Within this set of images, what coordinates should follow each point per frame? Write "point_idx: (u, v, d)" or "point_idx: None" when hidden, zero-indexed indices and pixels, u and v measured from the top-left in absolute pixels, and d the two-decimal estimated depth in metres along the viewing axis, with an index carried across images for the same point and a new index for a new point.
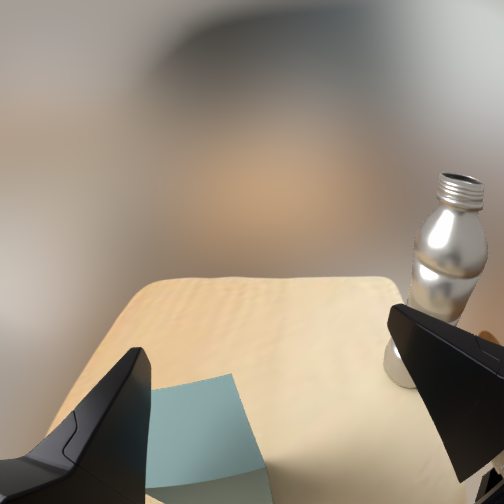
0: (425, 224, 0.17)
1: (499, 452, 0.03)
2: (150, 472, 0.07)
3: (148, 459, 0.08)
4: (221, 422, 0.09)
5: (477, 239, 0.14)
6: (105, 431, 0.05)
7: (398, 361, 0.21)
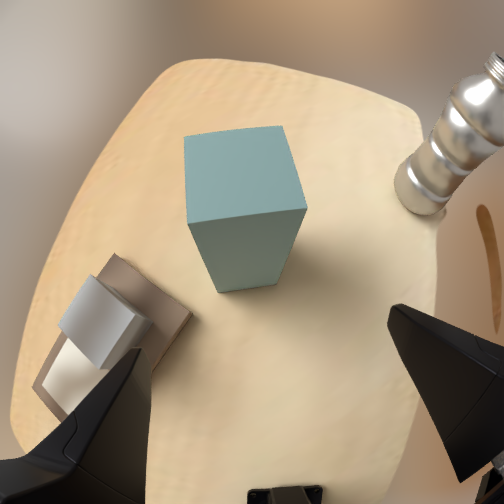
0: (467, 79, 0.13)
1: (499, 452, 0.03)
2: (203, 205, 0.11)
3: (201, 193, 0.12)
4: (271, 163, 0.12)
5: None
6: (105, 431, 0.05)
7: (409, 180, 0.23)
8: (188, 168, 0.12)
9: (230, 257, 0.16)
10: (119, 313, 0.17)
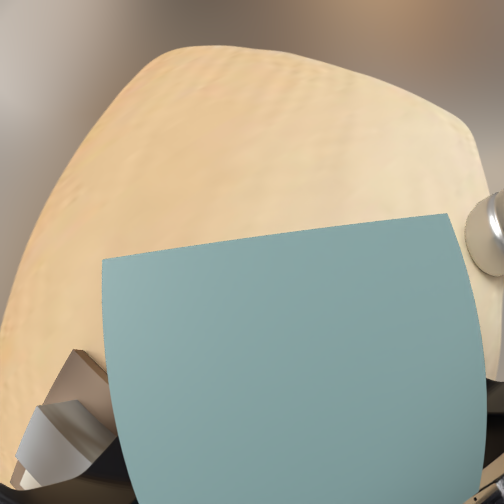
0: None
1: None
2: None
3: None
4: (438, 397, 0.03)
5: None
6: None
7: (492, 236, 0.14)
8: (130, 432, 0.02)
9: None
10: None
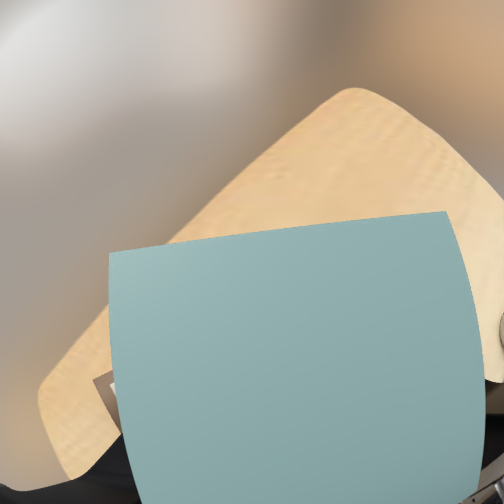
0: None
1: None
2: None
3: None
4: (435, 390, 0.03)
5: None
6: None
7: None
8: (132, 420, 0.03)
9: None
10: None
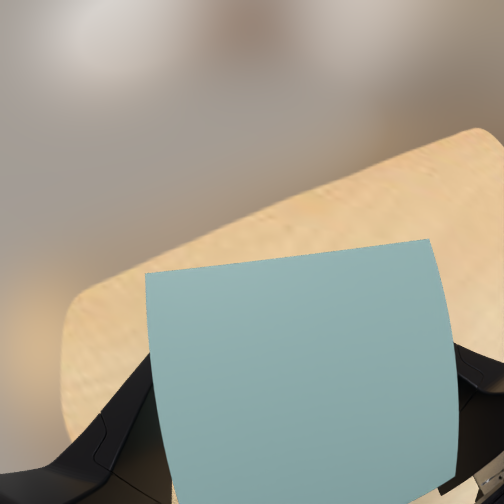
0: None
1: (480, 469, 0.03)
2: None
3: (219, 497, 0.03)
4: (413, 387, 0.03)
5: None
6: (136, 433, 0.05)
7: None
8: (169, 414, 0.03)
9: None
10: None
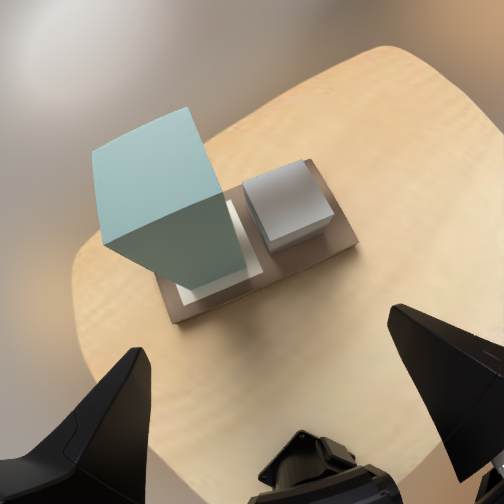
0: None
1: (499, 452, 0.03)
2: (114, 221, 0.10)
3: (111, 209, 0.10)
4: (178, 152, 0.10)
5: None
6: (105, 431, 0.05)
7: None
8: (97, 185, 0.10)
9: (175, 259, 0.14)
10: (319, 204, 0.19)
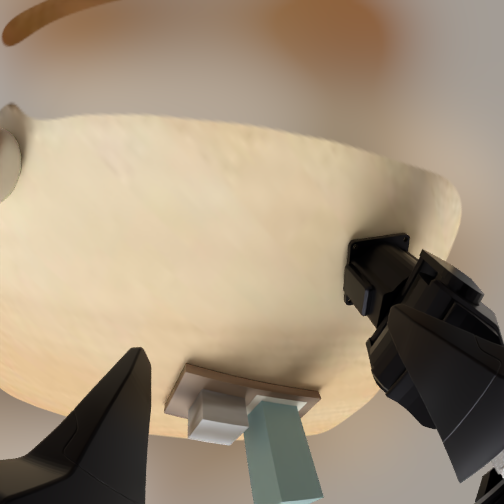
0: None
1: (499, 452, 0.03)
2: (313, 500, 0.18)
3: (310, 501, 0.18)
4: None
5: None
6: (105, 431, 0.05)
7: None
8: None
9: (301, 462, 0.22)
10: (205, 424, 0.23)
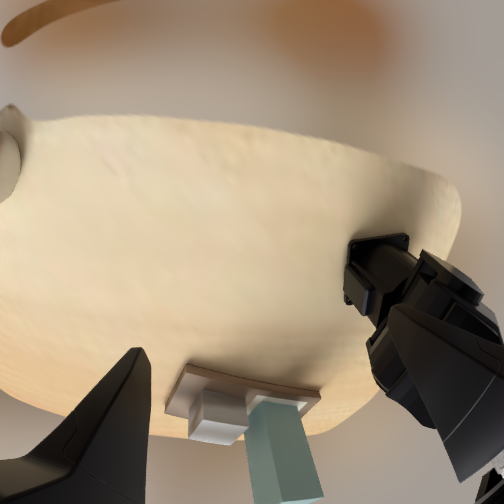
0: None
1: (499, 452, 0.03)
2: (314, 499, 0.18)
3: (311, 501, 0.18)
4: None
5: None
6: (105, 431, 0.05)
7: None
8: None
9: (302, 462, 0.22)
10: (205, 425, 0.23)
